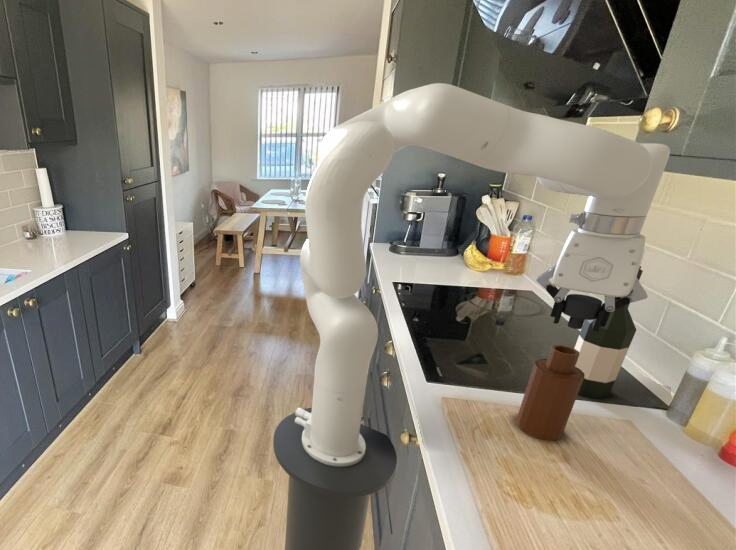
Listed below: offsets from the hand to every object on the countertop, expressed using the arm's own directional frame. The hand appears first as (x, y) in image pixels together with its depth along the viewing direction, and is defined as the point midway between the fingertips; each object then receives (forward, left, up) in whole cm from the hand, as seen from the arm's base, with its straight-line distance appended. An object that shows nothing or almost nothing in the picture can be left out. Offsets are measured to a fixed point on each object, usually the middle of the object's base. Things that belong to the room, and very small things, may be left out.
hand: (575, 324), depth 72 cm
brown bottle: (0, 0, -23) cm, 23 cm away
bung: (0, 0, -1) cm, 1 cm away
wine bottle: (+7, +24, -24) cm, 34 cm away
